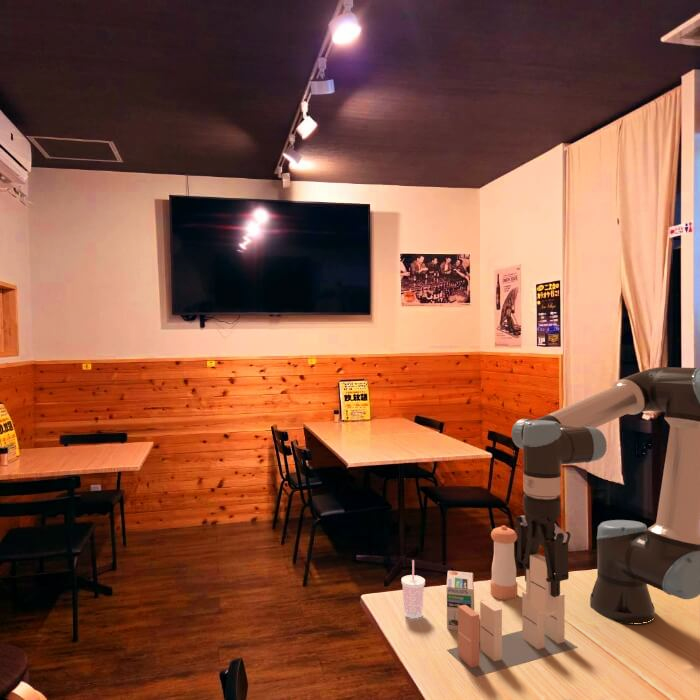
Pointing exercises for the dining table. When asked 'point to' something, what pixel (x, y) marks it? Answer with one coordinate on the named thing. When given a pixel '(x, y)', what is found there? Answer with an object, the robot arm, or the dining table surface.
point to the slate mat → (514, 653)
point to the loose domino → (538, 584)
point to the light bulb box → (458, 595)
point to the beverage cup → (413, 594)
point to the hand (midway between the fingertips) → (541, 604)
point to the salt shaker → (503, 564)
